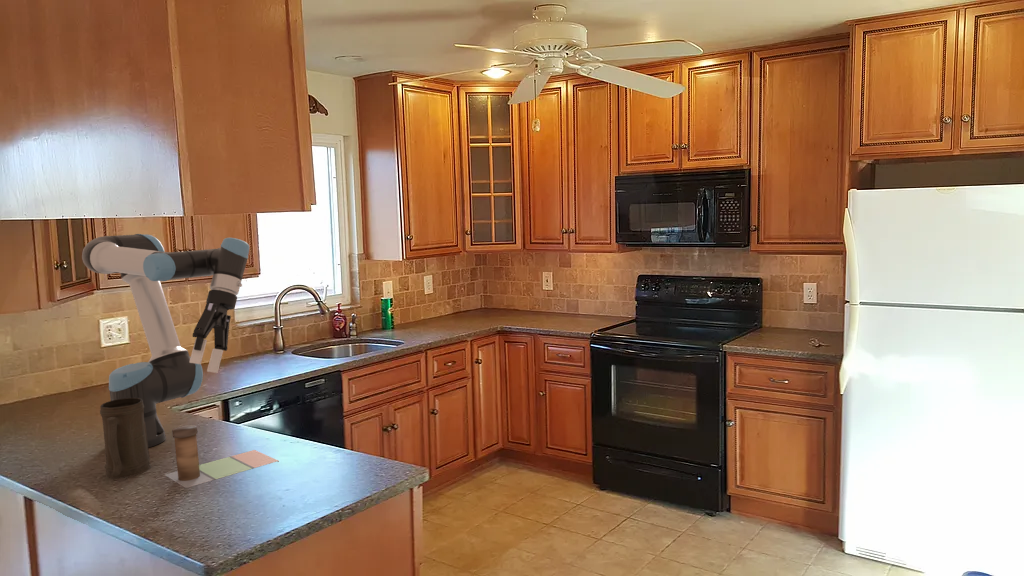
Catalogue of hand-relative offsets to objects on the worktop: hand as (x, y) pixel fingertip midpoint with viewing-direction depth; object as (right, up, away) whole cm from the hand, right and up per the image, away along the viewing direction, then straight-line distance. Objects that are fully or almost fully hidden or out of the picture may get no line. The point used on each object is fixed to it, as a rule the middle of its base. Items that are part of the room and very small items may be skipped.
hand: (203, 368), depth 193 cm
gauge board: (+8, -26, -7) cm, 28 cm away
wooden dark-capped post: (+2, -26, -13) cm, 29 cm away
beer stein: (-16, -28, -8) cm, 33 cm away
